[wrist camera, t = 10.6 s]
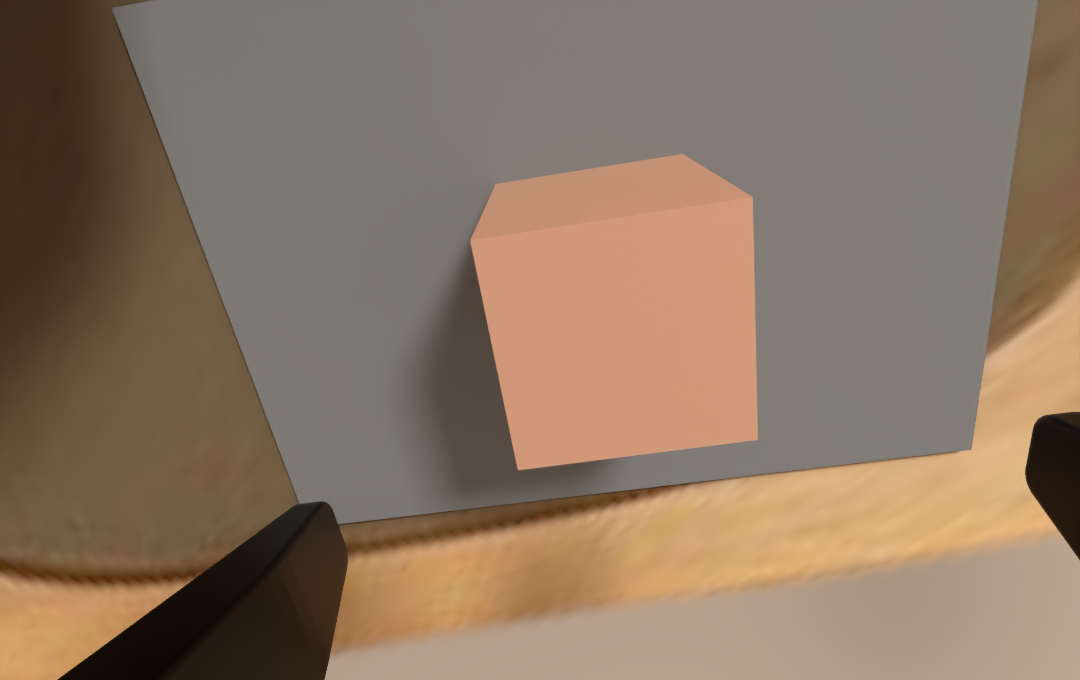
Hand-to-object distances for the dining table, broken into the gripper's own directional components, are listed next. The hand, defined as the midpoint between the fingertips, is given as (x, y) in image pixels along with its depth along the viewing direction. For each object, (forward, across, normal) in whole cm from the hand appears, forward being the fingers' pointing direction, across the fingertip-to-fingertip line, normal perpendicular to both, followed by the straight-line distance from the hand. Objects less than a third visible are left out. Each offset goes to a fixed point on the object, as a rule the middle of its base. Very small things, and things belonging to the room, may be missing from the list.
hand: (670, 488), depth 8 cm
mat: (+11, 0, 0) cm, 11 cm away
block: (+10, 0, 0) cm, 10 cm away
